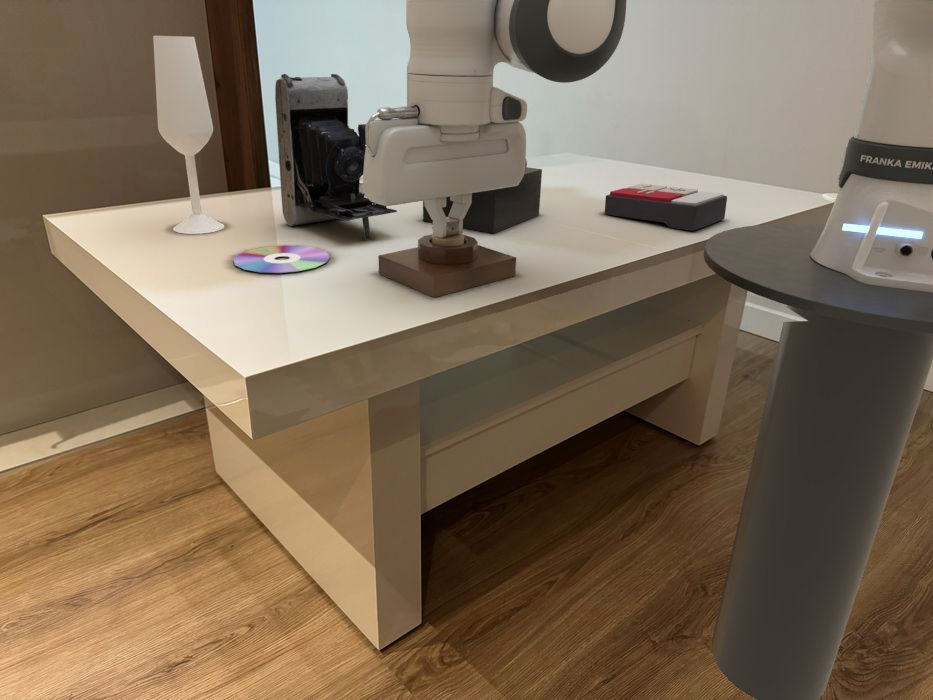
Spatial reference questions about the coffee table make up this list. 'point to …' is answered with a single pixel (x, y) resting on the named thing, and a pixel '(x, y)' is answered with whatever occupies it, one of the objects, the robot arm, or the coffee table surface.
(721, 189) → the coffee table surface
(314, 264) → the cd
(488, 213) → the lever stand
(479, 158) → the robot arm
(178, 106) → the champagne flute
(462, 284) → the block
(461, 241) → the timer button
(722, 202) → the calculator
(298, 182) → the vintage camera
